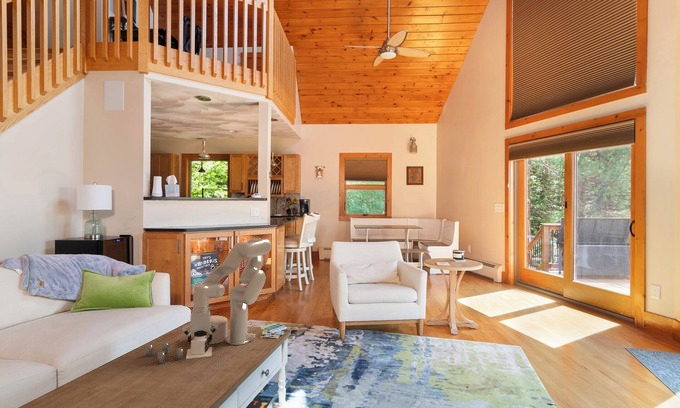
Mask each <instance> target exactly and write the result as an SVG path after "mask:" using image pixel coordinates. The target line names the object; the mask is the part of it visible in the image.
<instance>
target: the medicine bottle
mask: <svg viewBox="0 0 680 408" xmlns="http://www.w3.org/2000/svg"><path fill="white" fill-rule="evenodd" d="M193 335H194V336H193V339H192V338H191V344H190V349H191V355H200V354H205V353H206V352H207V351H208V350H209V347H210V344H209V336H207V331H206V332H205V331H203V330H200V331H196V332H193Z"/></svg>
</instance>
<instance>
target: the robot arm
mask: <svg viewBox="0 0 680 408" xmlns="http://www.w3.org/2000/svg"><path fill="white" fill-rule="evenodd" d="M272 246H273V245H272V242H271V241H270V240H269V239H266V238H257V237H256V238H255V237H254V238H250V239H249V240H248V241H247V242H237V243H235V244H234V245H233V247H232V248H231V250H230V251H229V253H228V254H227V255H226V257H225V259H224V261H223V262H222V263H221V264H220V265H218V266H217V267H215V268H214V269H213V270H212V271H211V272H210V273H209V274H208V275H207V277H206V278H205V279H204V281H203V283H202V284H197V285H195V286H194V287H193V298H192V299H193V302H192V312H191V314H190V318H189V319H190V320H189V323H187V324H186V325H184V326H183V327H182V328H181V330H182V331H183V333H184V335H186V336H187V343H188V345H191V340H192V334H194V332H196V331H200V330H203V331H205V332H206V331H208V332H209V333H210V334H209V343H210V342H211V340H212V334H213V333H214V332H215V331H216V329H217V327H218V324H215V323H213V322H211V316H212V314H211V311H210V310H211V309H212V308H213V307H212V306H210V305H209V304H210V303H209V302H210V299H218V298H221V297H223V296H224V294H225V292H226V288H225V286H224V285H223V284H222V283H219V282H220V280H221V279H223V278H224V277H225V276H226V277H227V276H229V275H231V274H234V273H235V272H236V271H237V270H238V269H239V266H240V265H241V263H242V261H244V259H248V261H247V263H246V265H245V267H244V268H243V270H242V272H241V273H240V276H239V277H240V278H239V279H240V282H241V283H242V284H244V285H242V284H237V285H233V286H232V287H231V288H230V291H229V293H228V294H229V295H228V298H229V302H230V303H229V304H230V316H229V317H230V318H229V319H230V323H229V325H230V326H229V337H228V338H226V343H227V344H229V345H232V346H241V345H242V346H243V345H245V344H248V343H249V342H250V341H251V338H256V333H253V332H251V333H249V331H248V324H249V323H248V320H249V318H248V317H249V308H248V306H250V305H251V306H252V304H255V303H256V301H257V300H258V297H259V296H260V294H261V291H262V290H263V287H264V285H265V284H266V283H265V282H266V281H267V280H266V279H267V277H266V273H265V272H264V271H263V270H261V268H262V266H263V263H264V255H266V254H268V253H269V252H271V249H272ZM211 325H212V326H214V329H213V330H211V329H210V328H211ZM188 328H189V331H188V330H187V329H188Z"/></svg>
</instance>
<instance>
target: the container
mask: <svg viewBox="0 0 680 408" xmlns="http://www.w3.org/2000/svg"><path fill="white" fill-rule="evenodd" d="M211 322H213V323H215V324H218V327H217V329H216V331H215V332H214V333H213V334H212V340H211V342H210V343H209V345H216V344H220V343H222V342H224V341H225V339H227V337H228V322H229V320H228V318H227V317H226V316H224V315H223V316H222V315H211ZM210 329H211V330H213V329H214V326H212V325H211V328H210ZM209 334H210V333H209V332H208V331H207V336H209ZM215 343H216V344H215Z"/></svg>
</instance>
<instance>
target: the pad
mask: <svg viewBox="0 0 680 408" xmlns="http://www.w3.org/2000/svg"><path fill="white" fill-rule="evenodd" d="M212 352H213V347H212V346H211V347H210V346H209V350H208V351H207V352H206V353H205V354H200V355H191V348H188V349H187V352H186V357H185V360H190V359H201V358H202V359H203V358H210V357H212V356H213V354H212Z"/></svg>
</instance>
